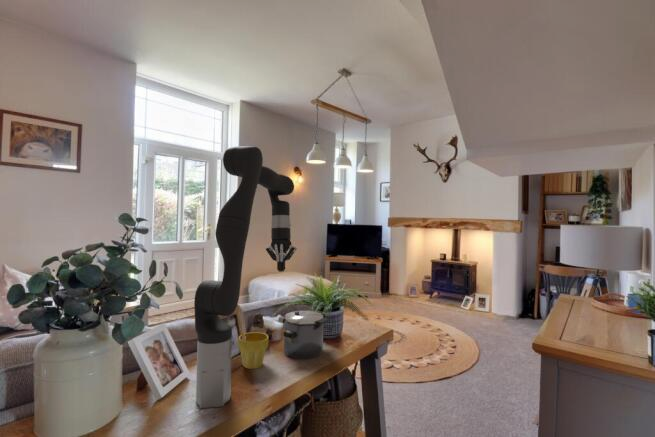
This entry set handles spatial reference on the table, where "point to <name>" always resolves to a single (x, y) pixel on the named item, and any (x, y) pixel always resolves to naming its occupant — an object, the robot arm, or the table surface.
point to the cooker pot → (302, 340)
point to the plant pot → (253, 349)
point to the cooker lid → (305, 318)
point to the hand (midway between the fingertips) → (281, 271)
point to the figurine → (258, 324)
